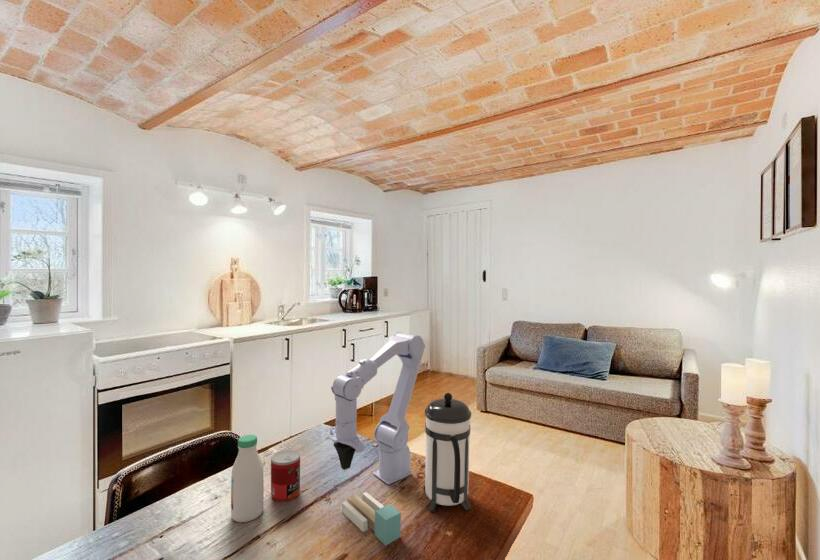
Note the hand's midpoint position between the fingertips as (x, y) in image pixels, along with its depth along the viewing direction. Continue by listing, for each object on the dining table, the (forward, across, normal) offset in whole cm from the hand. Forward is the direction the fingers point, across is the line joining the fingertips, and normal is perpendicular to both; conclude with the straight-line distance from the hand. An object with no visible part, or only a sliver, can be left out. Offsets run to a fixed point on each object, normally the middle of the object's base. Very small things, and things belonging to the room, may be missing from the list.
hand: (345, 467), depth 106 cm
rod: (+9, +10, 0) cm, 14 cm away
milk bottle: (+9, -10, -23) cm, 27 cm away
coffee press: (+9, +20, +21) cm, 30 cm away
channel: (+9, +10, 0) cm, 13 cm away
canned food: (+9, -12, -12) cm, 19 cm away
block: (+9, +19, 0) cm, 21 cm away
